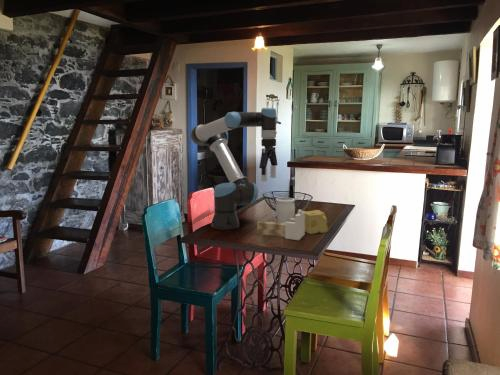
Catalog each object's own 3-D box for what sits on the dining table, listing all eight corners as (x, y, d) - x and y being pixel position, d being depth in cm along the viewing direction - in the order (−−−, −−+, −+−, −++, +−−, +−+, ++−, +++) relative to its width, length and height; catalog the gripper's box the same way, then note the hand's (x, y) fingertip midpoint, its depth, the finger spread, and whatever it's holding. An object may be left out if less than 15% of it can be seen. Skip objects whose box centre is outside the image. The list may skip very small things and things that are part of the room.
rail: (257, 234, 214) (257, 222, 213) (260, 232, 217) (260, 220, 216) (295, 238, 206) (295, 225, 205) (297, 235, 210) (297, 224, 209)
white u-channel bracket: (284, 238, 205) (284, 210, 202) (291, 233, 215) (291, 206, 212) (299, 240, 202) (299, 211, 200) (305, 234, 212) (305, 207, 210)
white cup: (293, 228, 224) (294, 201, 221) (274, 227, 226) (274, 200, 223) (295, 223, 234) (295, 197, 231) (277, 223, 236) (277, 196, 234)
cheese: (327, 232, 216) (328, 213, 214) (308, 234, 212) (309, 215, 211) (317, 227, 225) (318, 209, 224) (299, 229, 222) (299, 211, 220)
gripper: (267, 139, 202) (267, 183, 206) (283, 137, 225) (283, 176, 228) (252, 139, 205) (253, 182, 209) (270, 137, 228) (270, 176, 231)
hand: (268, 179), depth 219 cm, fingers open, 13 cm apart
